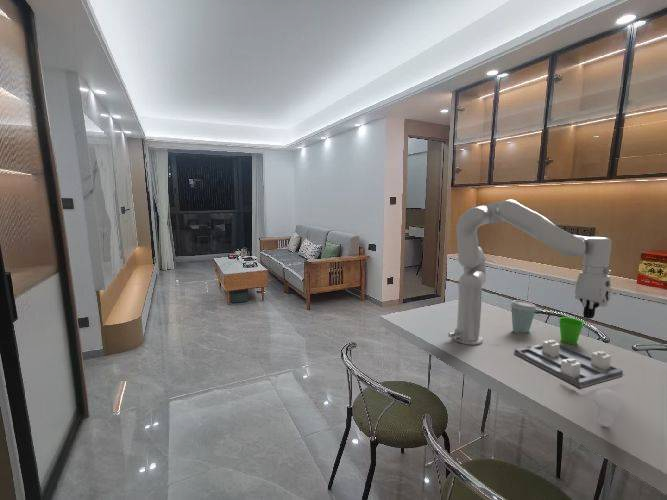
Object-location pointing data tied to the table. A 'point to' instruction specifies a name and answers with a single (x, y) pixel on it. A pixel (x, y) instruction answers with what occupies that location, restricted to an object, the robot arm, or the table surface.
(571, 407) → the table surface
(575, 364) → the white stepped block
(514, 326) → the disposable coffee cup
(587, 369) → the switch board
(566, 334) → the cup
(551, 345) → the white stepped block
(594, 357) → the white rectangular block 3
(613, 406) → the lightbulb
